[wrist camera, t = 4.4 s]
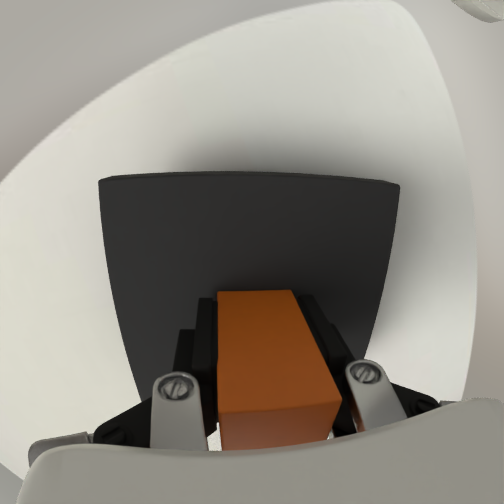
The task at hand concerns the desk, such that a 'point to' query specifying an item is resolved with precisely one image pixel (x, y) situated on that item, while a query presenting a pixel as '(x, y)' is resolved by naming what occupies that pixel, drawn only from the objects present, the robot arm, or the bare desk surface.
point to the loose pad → (249, 284)
